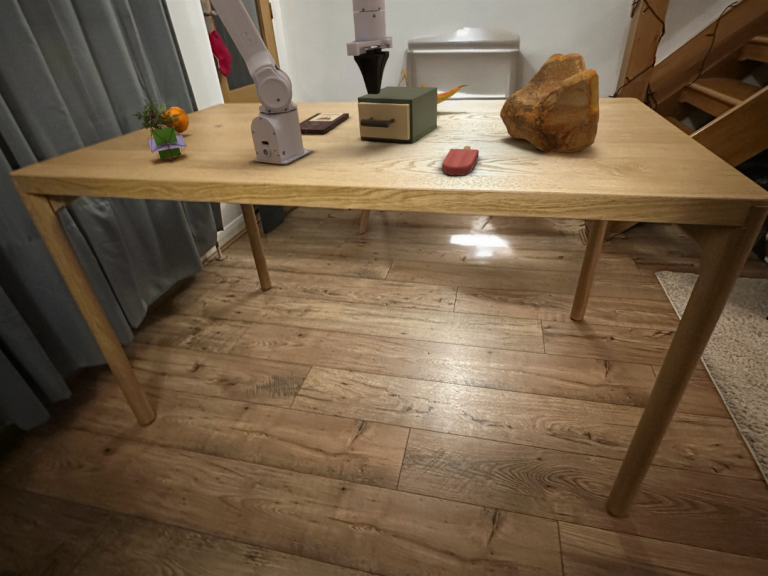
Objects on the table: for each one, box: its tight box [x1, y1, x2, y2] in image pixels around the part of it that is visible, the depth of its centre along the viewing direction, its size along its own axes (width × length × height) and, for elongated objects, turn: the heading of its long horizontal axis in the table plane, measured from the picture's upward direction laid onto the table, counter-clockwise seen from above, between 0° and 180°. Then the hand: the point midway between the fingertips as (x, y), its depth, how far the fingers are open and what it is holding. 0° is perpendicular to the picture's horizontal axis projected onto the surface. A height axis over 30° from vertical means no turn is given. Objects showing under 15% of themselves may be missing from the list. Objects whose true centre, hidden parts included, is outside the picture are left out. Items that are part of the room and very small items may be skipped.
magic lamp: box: [397, 69, 469, 105], centre depth 111 cm, size 7×18×11 cm, turn 82°
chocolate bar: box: [299, 112, 350, 135], centre depth 109 cm, size 9×1×18 cm
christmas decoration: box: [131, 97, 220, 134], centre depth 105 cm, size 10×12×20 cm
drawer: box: [357, 102, 410, 140], centre depth 93 cm, size 18×11×7 cm, turn 154°
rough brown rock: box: [499, 52, 600, 153], centre depth 83 cm, size 23×17×15 cm
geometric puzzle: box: [146, 125, 187, 162], centre depth 88 cm, size 7×7×8 cm
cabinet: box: [357, 86, 438, 144], centre depth 96 cm, size 15×13×9 cm
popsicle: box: [441, 145, 480, 176], centre depth 78 cm, size 5×2×15 cm
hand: (373, 93), depth 84 cm, fingers closed
